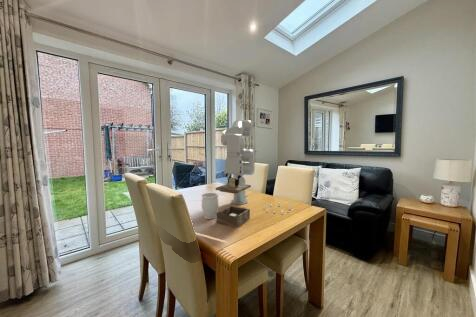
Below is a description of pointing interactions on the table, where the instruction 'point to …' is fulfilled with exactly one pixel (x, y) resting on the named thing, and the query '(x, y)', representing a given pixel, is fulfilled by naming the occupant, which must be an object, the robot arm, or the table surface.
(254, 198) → the table surface
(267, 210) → the game piece set
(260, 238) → the table surface
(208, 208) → the jar
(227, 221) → the box
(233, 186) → the lid
